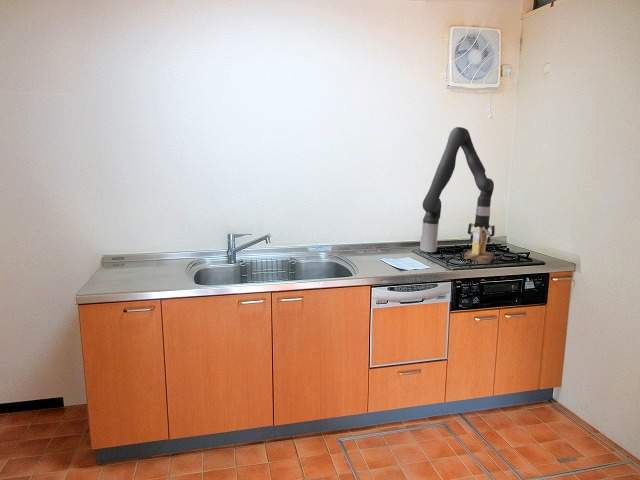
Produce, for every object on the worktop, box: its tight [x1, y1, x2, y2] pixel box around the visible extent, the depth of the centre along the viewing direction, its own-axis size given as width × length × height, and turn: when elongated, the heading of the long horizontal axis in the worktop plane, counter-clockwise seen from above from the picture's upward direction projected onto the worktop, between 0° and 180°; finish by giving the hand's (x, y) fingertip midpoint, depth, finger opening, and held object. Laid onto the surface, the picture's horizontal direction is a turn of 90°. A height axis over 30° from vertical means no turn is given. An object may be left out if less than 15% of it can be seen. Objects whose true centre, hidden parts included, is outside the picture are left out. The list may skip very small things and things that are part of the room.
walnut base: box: [463, 249, 494, 264], centre depth 266 cm, size 14×14×3 cm
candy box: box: [471, 227, 488, 255], centre depth 264 cm, size 9×4×15 cm, turn 135°
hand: (480, 242), depth 264 cm, fingers open, 8 cm apart
